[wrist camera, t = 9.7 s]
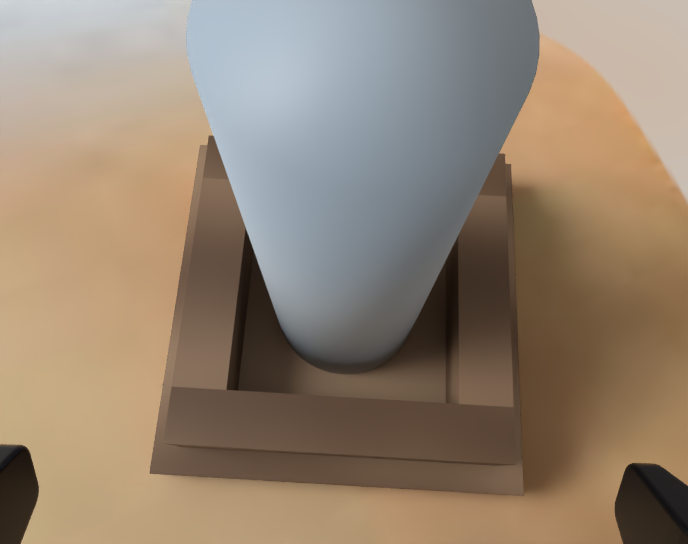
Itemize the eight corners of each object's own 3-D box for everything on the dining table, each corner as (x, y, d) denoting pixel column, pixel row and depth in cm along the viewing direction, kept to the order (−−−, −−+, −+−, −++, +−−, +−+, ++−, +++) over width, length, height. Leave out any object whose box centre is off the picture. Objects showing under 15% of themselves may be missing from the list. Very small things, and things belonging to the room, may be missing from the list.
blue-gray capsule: (413, 378, 18) (550, 193, 7) (271, 370, 19) (160, 172, 7) (415, 246, 20) (530, -95, 8) (284, 239, 20) (210, -111, 8)
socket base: (509, 494, 19) (547, 498, 16) (163, 473, 19) (127, 473, 16) (499, 183, 22) (528, 133, 19) (208, 166, 22) (187, 112, 19)
